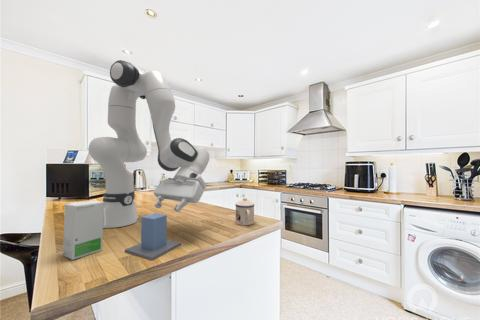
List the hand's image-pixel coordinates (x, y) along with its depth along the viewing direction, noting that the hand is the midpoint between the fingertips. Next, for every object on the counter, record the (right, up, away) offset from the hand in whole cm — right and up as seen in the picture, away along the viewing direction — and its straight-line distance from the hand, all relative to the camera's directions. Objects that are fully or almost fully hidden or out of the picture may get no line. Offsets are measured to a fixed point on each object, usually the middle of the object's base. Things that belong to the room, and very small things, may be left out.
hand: (166, 209), depth 70 cm
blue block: (-2, -11, -5) cm, 12 cm away
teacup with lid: (+29, -13, +22) cm, 38 cm away
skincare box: (-23, -12, -9) cm, 27 cm away
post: (-2, -12, -5) cm, 13 cm away
